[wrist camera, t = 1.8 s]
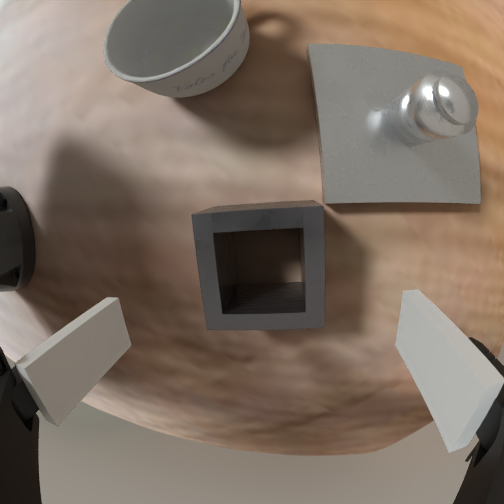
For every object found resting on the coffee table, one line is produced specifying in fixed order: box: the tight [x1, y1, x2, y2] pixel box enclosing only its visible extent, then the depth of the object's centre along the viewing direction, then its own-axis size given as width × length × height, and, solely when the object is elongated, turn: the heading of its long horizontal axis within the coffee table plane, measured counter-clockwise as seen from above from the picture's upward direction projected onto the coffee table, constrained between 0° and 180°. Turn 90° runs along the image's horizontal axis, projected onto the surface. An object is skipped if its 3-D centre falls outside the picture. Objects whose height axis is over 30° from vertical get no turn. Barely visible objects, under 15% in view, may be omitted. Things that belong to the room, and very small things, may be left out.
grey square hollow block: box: [192, 200, 325, 330], centre depth 21 cm, size 8×8×6 cm
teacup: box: [103, 0, 250, 97], centre depth 16 cm, size 14×11×8 cm
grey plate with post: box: [307, 44, 481, 204], centre depth 15 cm, size 16×14×10 cm
